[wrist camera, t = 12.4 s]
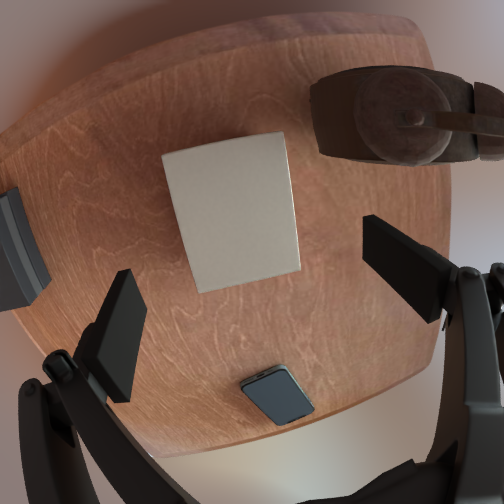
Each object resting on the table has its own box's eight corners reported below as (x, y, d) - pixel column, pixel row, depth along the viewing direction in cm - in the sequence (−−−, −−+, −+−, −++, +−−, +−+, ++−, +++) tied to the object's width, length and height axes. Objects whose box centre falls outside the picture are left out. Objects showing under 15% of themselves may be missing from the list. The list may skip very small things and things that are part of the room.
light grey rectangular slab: (163, 154, 22) (160, 155, 21) (278, 130, 23) (283, 131, 21) (198, 285, 28) (198, 293, 26) (296, 263, 28) (301, 270, 27)
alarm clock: (397, 82, 25) (551, 82, 7) (405, 141, 28) (555, 182, 10) (278, 83, 24) (419, 18, 6) (290, 153, 27) (439, 210, 9)
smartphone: (285, 367, 37) (317, 411, 43) (282, 359, 39) (314, 404, 45) (237, 388, 38) (278, 428, 44) (236, 380, 39) (276, 421, 45)
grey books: (-12, 201, 22) (-42, 216, 17) (17, 184, 22) (-13, 198, 17) (21, 288, 27) (0, 313, 22) (52, 279, 28) (31, 307, 22)
